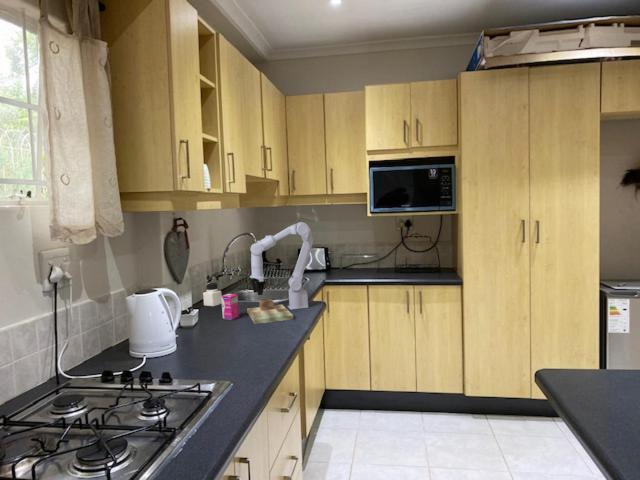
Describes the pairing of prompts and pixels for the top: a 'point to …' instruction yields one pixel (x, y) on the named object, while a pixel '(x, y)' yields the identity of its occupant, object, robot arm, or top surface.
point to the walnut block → (266, 304)
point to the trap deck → (269, 314)
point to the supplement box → (230, 306)
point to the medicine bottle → (212, 295)
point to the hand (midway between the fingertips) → (258, 293)
